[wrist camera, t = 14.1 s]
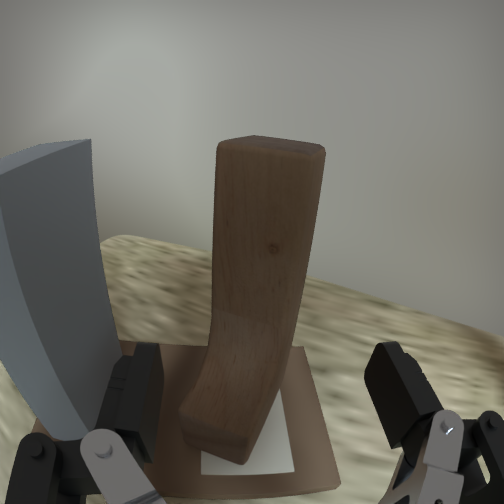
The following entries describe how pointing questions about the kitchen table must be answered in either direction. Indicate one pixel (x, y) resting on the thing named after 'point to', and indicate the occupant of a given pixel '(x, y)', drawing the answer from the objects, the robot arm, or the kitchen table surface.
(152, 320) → the kitchen table surface
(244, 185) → the wooden block
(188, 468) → the base board
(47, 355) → the slate post
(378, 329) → the kitchen table surface
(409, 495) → the robot arm
